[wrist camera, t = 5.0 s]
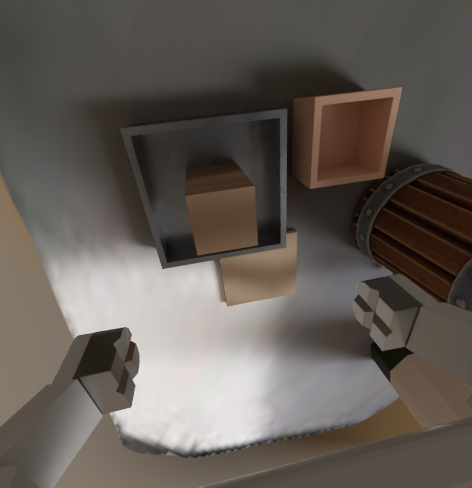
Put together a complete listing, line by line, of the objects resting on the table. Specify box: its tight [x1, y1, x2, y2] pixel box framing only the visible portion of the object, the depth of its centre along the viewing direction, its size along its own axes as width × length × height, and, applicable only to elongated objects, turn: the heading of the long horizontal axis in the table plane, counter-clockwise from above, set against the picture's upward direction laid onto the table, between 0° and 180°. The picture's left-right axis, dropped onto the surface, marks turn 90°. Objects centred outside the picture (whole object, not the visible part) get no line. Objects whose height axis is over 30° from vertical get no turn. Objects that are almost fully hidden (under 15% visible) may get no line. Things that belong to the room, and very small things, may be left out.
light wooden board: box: [220, 230, 298, 306], centre depth 26 cm, size 8×8×1 cm
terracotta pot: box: [291, 87, 402, 189], centre depth 19 cm, size 6×6×4 cm
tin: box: [120, 108, 287, 269], centre depth 20 cm, size 11×11×3 cm
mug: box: [353, 163, 472, 312], centre depth 21 cm, size 16×11×15 cm
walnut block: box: [185, 162, 258, 255], centre depth 18 cm, size 4×4×7 cm
